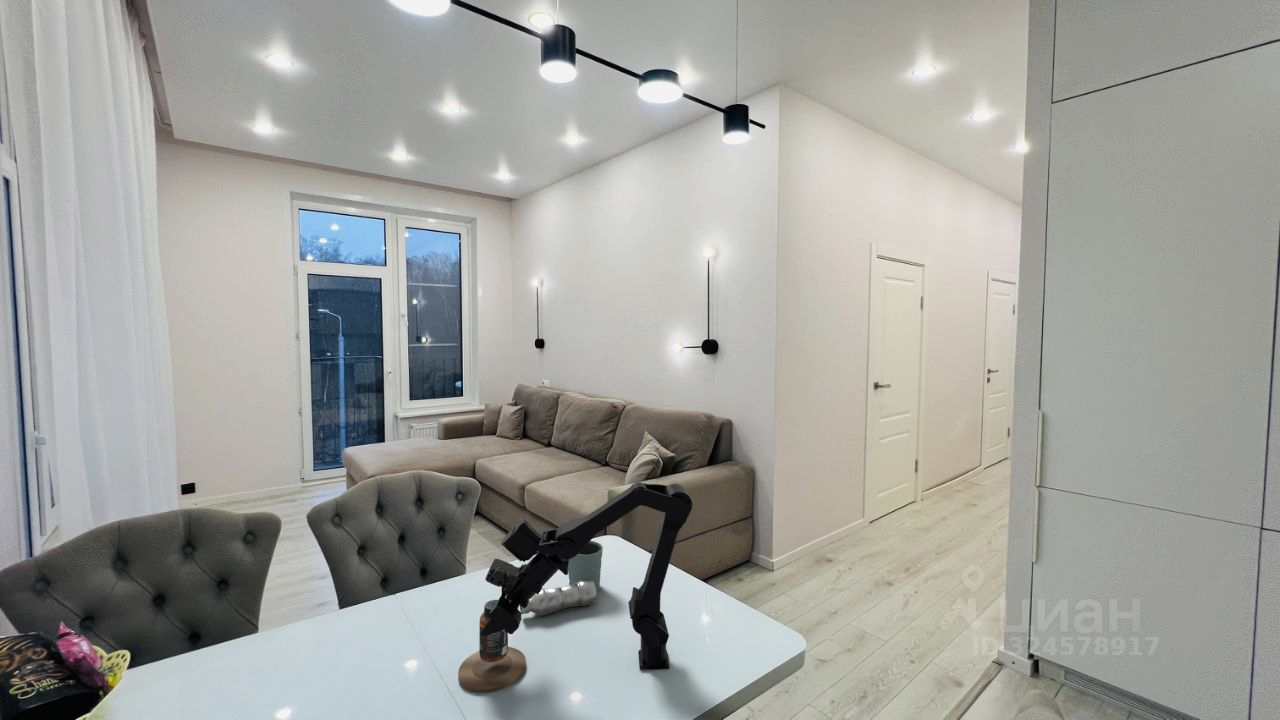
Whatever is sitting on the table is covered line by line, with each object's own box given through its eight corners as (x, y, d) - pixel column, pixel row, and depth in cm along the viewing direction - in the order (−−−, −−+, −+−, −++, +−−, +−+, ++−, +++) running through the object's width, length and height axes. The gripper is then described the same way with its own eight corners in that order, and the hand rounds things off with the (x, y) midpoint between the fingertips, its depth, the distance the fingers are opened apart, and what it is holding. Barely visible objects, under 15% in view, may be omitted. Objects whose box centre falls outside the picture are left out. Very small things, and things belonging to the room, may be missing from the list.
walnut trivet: (519, 691, 104) (519, 686, 104) (449, 694, 104) (449, 689, 104) (530, 649, 118) (530, 644, 118) (469, 651, 118) (468, 647, 118)
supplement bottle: (512, 656, 111) (513, 605, 110) (486, 667, 107) (486, 614, 106) (500, 643, 115) (500, 594, 114) (474, 653, 111) (474, 602, 111)
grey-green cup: (565, 582, 150) (564, 542, 150) (598, 577, 153) (598, 538, 153) (570, 599, 141) (570, 556, 140) (606, 593, 144) (606, 551, 143)
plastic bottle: (589, 582, 144) (517, 597, 136) (595, 574, 139) (520, 589, 131) (595, 606, 140) (521, 623, 132) (600, 598, 135) (524, 616, 127)
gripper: (516, 532, 119) (470, 580, 119) (498, 568, 101) (443, 626, 101) (551, 564, 120) (505, 612, 120) (540, 605, 101) (485, 663, 101)
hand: (486, 626), depth 111 cm, fingers closed on supplement bottle, 6 cm apart
